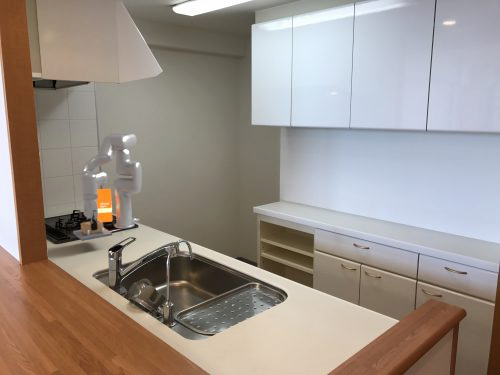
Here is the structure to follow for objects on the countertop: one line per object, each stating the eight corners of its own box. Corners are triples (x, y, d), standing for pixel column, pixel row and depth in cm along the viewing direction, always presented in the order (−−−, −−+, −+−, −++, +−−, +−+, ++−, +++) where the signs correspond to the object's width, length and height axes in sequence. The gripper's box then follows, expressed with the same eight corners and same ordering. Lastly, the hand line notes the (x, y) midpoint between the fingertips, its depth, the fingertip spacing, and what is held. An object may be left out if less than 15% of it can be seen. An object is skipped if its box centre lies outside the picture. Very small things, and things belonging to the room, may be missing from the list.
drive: (99, 228, 231) (99, 219, 230) (103, 231, 227) (103, 222, 226) (81, 231, 225) (80, 222, 224) (85, 234, 220) (84, 225, 219)
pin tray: (101, 228, 237) (101, 221, 236) (112, 235, 225) (112, 227, 224) (73, 233, 227) (72, 225, 226) (82, 240, 215) (81, 233, 214)
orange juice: (97, 219, 260) (96, 188, 257) (112, 218, 263) (110, 187, 259) (97, 222, 253) (95, 190, 249) (112, 221, 256) (110, 190, 252)
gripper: (78, 194, 226) (80, 225, 230) (88, 200, 213) (90, 233, 217) (92, 192, 231) (93, 223, 234) (103, 198, 218) (104, 231, 221)
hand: (92, 228), depth 225 cm, fingers closed on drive, 6 cm apart
